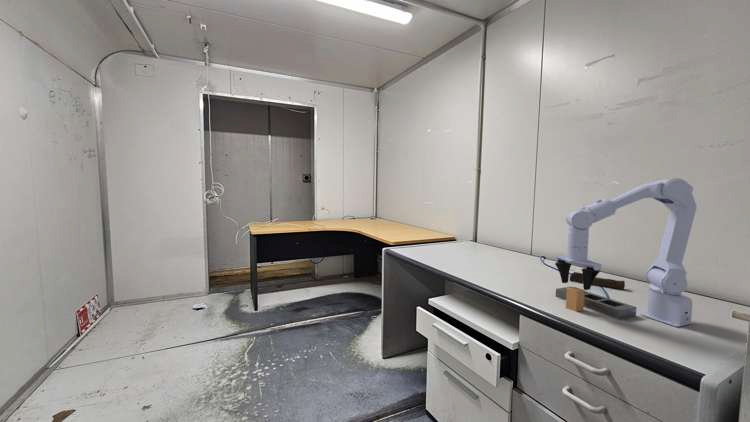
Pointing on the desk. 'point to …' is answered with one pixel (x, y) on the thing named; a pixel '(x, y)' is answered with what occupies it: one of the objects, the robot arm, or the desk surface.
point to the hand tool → (598, 281)
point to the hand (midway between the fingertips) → (575, 286)
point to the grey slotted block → (603, 304)
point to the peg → (575, 299)
